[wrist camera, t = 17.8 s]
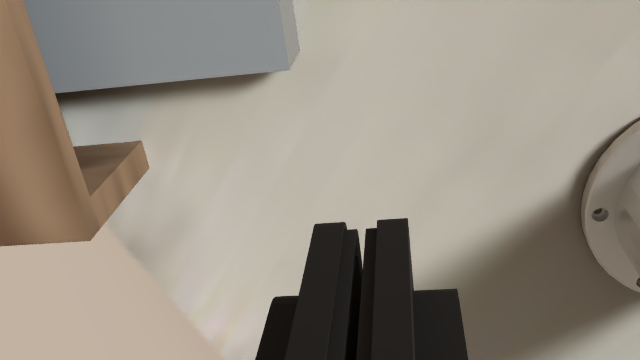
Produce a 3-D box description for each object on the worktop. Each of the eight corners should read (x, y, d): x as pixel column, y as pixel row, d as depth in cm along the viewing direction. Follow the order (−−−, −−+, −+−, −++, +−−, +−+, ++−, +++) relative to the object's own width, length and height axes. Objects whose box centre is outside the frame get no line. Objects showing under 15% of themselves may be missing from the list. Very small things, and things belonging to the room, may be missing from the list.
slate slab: (286, -49, 31) (272, -38, 27) (300, 48, 33) (289, 70, 30) (1, -12, 33) (-45, 2, 30) (32, 76, 36) (-8, 99, 32)
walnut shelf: (72, -100, 31) (-27, -90, 23) (149, 168, 37) (90, 240, 30) (-77, -77, 32) (-216, -61, 25) (22, 177, 39) (-64, 250, 31)
